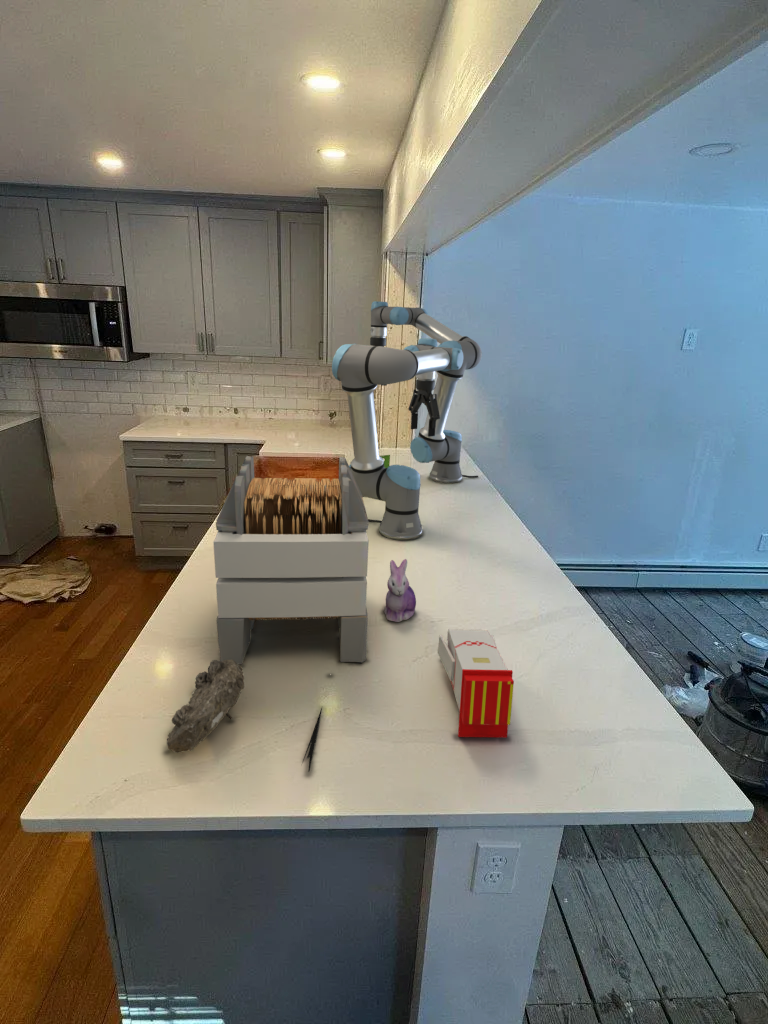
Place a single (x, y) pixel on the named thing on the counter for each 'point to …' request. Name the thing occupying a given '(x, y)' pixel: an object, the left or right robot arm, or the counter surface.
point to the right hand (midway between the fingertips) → (376, 383)
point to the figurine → (399, 594)
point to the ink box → (386, 460)
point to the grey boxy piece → (291, 558)
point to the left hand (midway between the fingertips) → (422, 432)
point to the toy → (478, 682)
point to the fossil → (206, 705)
